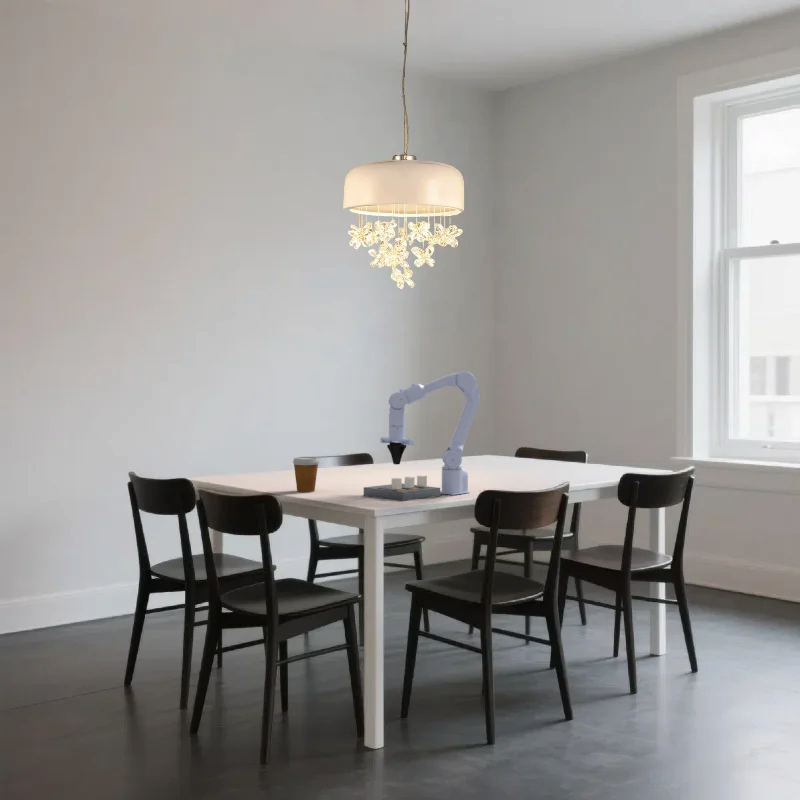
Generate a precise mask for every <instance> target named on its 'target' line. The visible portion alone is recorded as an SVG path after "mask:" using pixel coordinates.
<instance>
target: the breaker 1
mask: <svg viewBox="0 0 800 800" xmlns="http://www.w3.org/2000/svg"><path fill="white" fill-rule="evenodd" d="M402 479H403V478H400V477H393V478H391V484H392V489H401V483H402Z"/></svg>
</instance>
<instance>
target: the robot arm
mask: <svg viewBox="0 0 800 800" xmlns="http://www.w3.org/2000/svg"><path fill="white" fill-rule="evenodd" d="M444 387H457V388H458V389H460V390H461V392H462V393H463V396H464V397H465V402H464V404H463V405H464V406H463V408H462V410H461V413H460V416H459V419H458V422H457V424H456V427H455V430H454V433H453V436H452V438H451V441H450V443H449V445H448V447H447V449H446V450H445V451H444V452H443V453H442V462H443V464H444V465H443V466H441V490H440V495H441V494H443V495H450V496H454V495H463V494H470V491H469V489H468V488H469V486H468V485H469V484H468V483H469V475H468V472H467V470H466V469H464V468H463V467H462V466H461V464H462V461H463V457H462V454H463V452H464V446H465V443H466V440H467V437H468V434H469V432H470V428H471V426H472V424H473V421H474V418H475V416H476V412H477V409H478V407H479V404H480V401H481V394H480V389H479V386H478V380H477V379H476V377H475V376H474V375H473V373H471V372H470V371H467V370H461V371H458V372H454V373H451V374H450V373H449V374H447V375H444V376H441V377H439V378H438V379H435V380H433V381H430V382H427V383H426V384H424V385H422V384H421V383H417V384H416V383H415V382H414V383H412V384H411V386H409V387H407V388H403V389H402V388H399V392H394V393H391V394H390V396H389V398H388V404H389V409H388V410H389V411H388V412H389V414H388V437H386V436H385V437H384V436H383V437H381V436H380V439H379V440H380V443H381V444H387V445H386V447H387V449H388V451H389V453H390V456H391V459H392V463H393V465H400V464H401V461H402V457H403V453H404V452H405V450H406V449H407V446H414V444H415V443H414V439H411V438H406V427H405V426H406V413H405V406H406V405H411V404H414V403H417V402H418V401H422V400H424V399H425V398H426V395H427V394H428V393H431V392H434V391H437V390H439V389H442V388H444Z"/></svg>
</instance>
